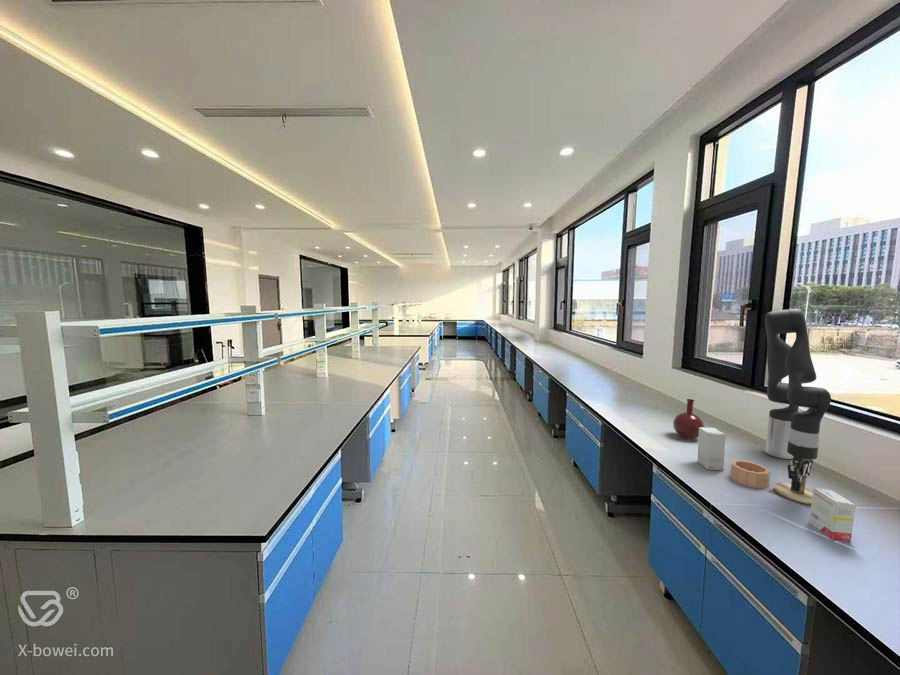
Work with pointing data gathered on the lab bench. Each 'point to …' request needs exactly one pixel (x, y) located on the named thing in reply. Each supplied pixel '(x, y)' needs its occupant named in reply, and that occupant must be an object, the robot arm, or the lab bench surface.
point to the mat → (788, 499)
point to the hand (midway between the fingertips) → (797, 488)
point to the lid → (795, 492)
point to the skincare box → (711, 448)
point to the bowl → (750, 474)
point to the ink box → (832, 514)
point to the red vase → (688, 422)
